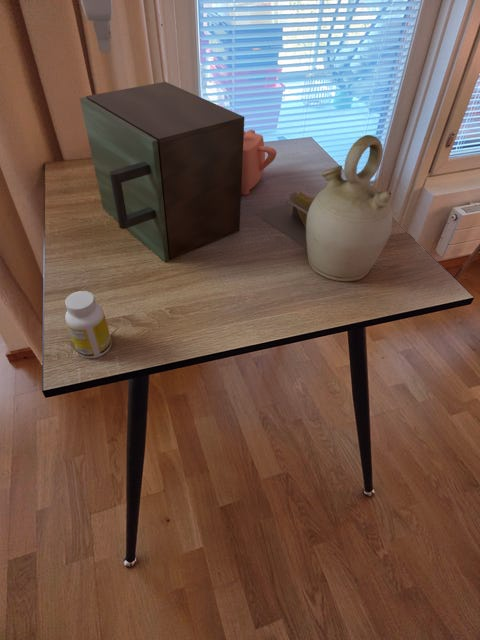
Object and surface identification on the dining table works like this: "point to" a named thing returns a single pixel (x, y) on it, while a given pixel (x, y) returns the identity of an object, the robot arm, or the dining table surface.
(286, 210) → the platform
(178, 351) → the dining table surface
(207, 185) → the cupboard
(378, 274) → the dining table surface
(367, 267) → the jug
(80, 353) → the supplement bottle
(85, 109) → the cupboard door
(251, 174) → the teapot
